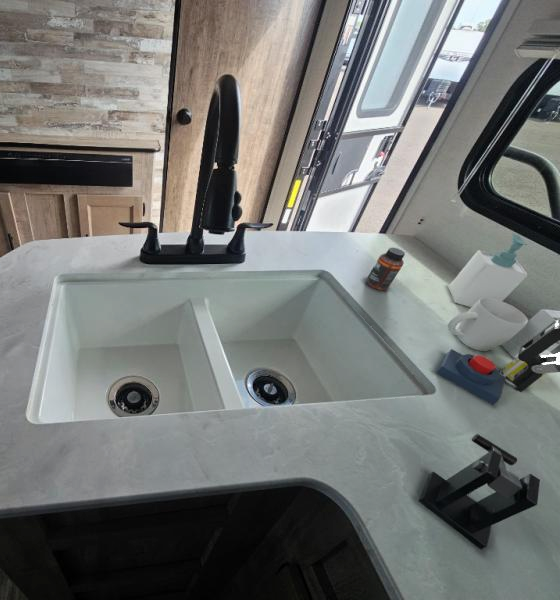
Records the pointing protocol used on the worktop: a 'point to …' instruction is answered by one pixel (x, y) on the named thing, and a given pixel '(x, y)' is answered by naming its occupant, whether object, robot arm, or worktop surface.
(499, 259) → the soap bottle
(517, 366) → the supplement bottle
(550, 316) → the cosmetic box
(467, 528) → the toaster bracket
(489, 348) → the mug
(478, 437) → the lever
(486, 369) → the button
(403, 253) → the supplement bottle
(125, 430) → the worktop surface
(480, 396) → the button housing
